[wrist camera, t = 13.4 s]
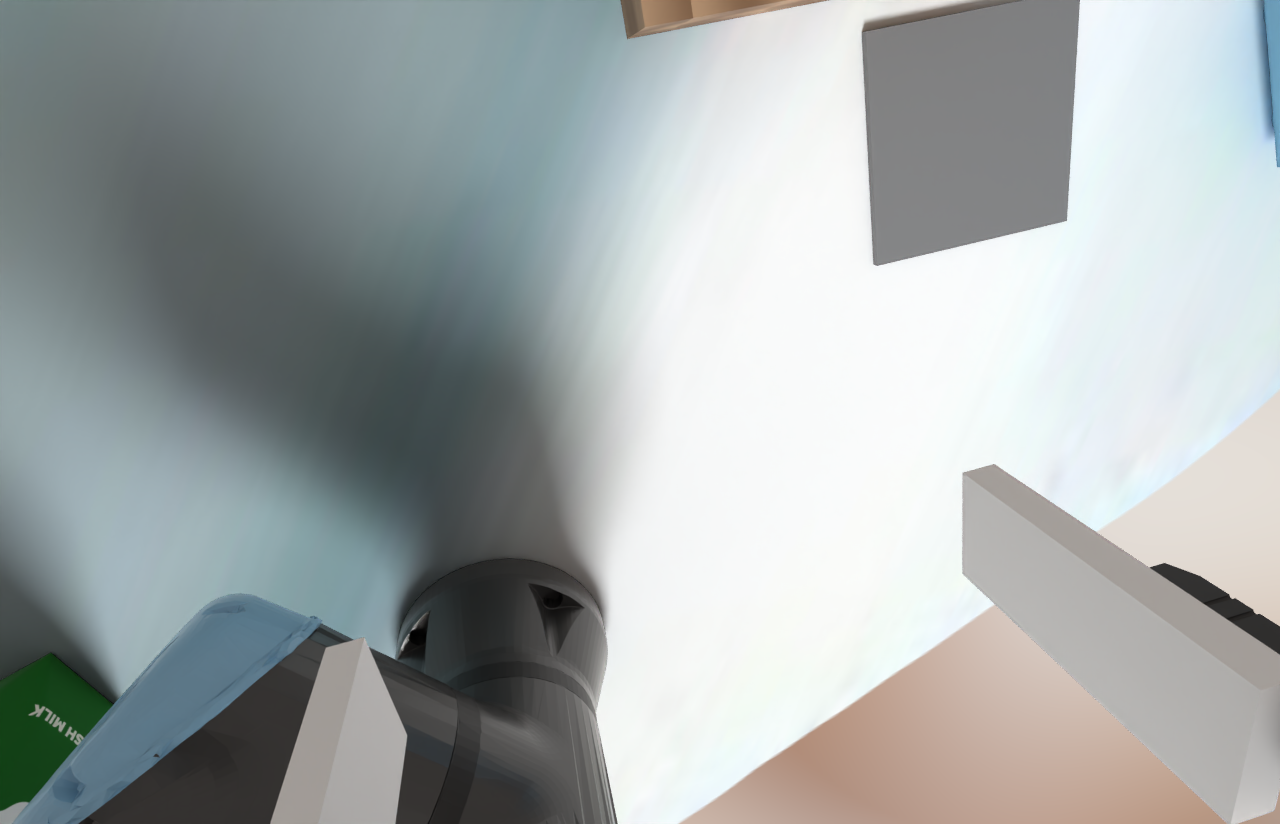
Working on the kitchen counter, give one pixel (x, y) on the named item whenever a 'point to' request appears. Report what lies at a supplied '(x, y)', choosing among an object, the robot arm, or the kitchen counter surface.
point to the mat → (969, 125)
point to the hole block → (692, 12)
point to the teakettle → (1274, 64)
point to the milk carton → (41, 727)
